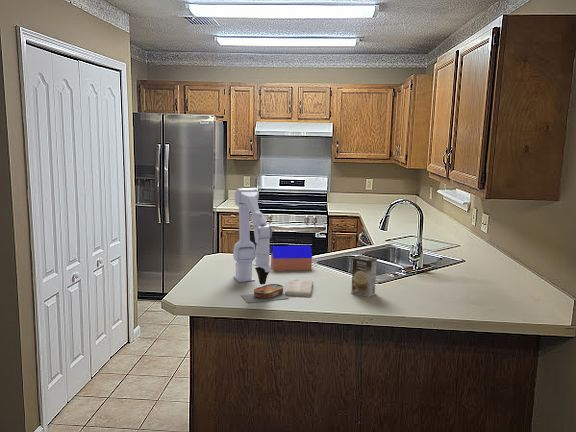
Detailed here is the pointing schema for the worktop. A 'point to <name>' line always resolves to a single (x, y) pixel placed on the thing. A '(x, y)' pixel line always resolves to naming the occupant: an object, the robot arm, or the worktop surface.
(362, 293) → the coffee box
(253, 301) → the mat
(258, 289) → the tin
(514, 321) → the worktop surface
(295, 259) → the two-tone brick
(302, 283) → the washcloth
